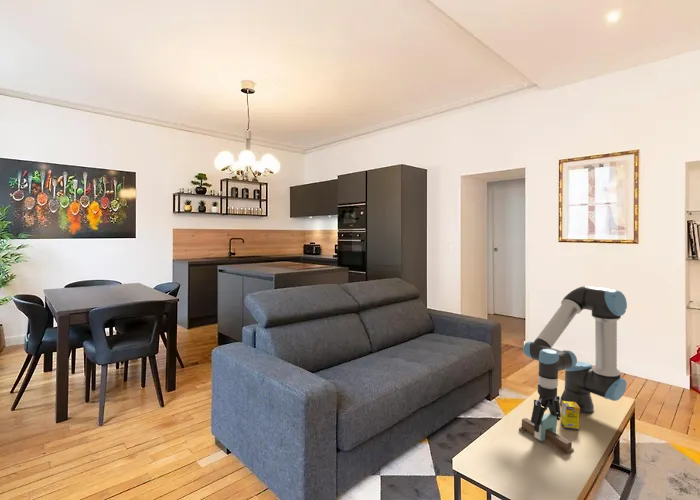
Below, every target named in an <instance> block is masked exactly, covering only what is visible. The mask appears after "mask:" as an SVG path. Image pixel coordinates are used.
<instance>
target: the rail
mask: <svg viewBox="0 0 700 500" xmlns="http://www.w3.org/2000/svg"><path fill="white" fill-rule="evenodd" d="M518 431H520V432H521V433H528V434H530V435H531V436H534V433H535V431H534V423H532V422H531V418H530V419H529V418H528V417H525V418H522V419H521V427H518ZM543 442H544V443H545V444H547V445H549V446H550V447H553V448H554V449H556V450H557V451H556V452H557V454H559V455H561V456H565V455H570V454H571V453H572V452H574V450H575V449H574V448H573V447H572V445H573V443H572V441H570V440H568V439H566V438H565V437H563V436H561V435H560V434H557V432H556V433H554V432H552V431H550V430H548V429H546V432H545V440H544V441H543Z"/></svg>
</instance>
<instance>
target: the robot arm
mask: <svg viewBox="0 0 700 500" xmlns="http://www.w3.org/2000/svg"><path fill="white" fill-rule="evenodd" d="M560 304H561V305H560V306H559V308H558V309H557V311H555V313H554V314H553V315H552V317H551V318H550V320H549V321H548V322H547V324H546V325H545V326H544V327H543V330H542V331H541V332H540V333H539V334H538V336H537V337H536V338H535V340H534V341H527V342H525V343H524V345H523V349H522V351H523V355H525V356H526V357H528V358H530V359H531V360H535V361H537V362H538V375H537V376H538V380H537V383H538V384H537V393H538V395H539V397H538V399H533V408H532V412H531V417H530V420H531V422H532V423H534V431H535V433H534V438H536V439H537V440H539V441H540V440H541V428H542V425H541V424H540V423H541V421H542V418H543V415H545V412H546V411H547V410H548V411H549V413H550V414H552V415H554V416H556V417H557V421H556V427H557V426H558V422H559V421H561V406H562V401H568V402H575V403H576V404H577V405H578V406H579V407H580V414H589V413H593V412H594V410H595V409H594V407H595V406H594V403H593V398H592V396H591V394H593V395H595V396H596V395H597V396H598V397H601V398H604V399H606V400H610V401H613V402H614V401H619V400H620V399H621V398H622V397H623V396H624V394H625V392H626V389H627V381H626V379H625V378H623V377H621V374H622V373H621V371H620V370H619V369H618V367H617V366H618V363H617V361H618V358H617V357H618V352H617V351H618V348H617V347H618V346H617V345H618V339H617V338H618V330H617V329H618V321H619V320H620V319H621V317H622V316H624V315H625V313H626V311H627V308H628V302H627V298H626V296H625V294H624V293H623V292H622V291H620V290H618V289H613V288H607V287H597V286H592V285H583V286H580V287H577V288H575V289H573V290H571V291H570V292H569V293H568V294H566V295H565V296H564V297H563V299H562V300H561V302H560ZM583 310H589V311H591V316H592V317H593V318H594V321H595V323H594V324H595V325H594V326H595V340H594V341H595V348H594V349H595V365H594V366H593V365H592V364H591V363H589V362H585V361H578V358H577V356H576V354H575V353H574V352H573V351H571V350H559V349H557V348H556V349H555V348H553V346H554V345H555V344H556V342H557V341H558V340H559V338H560V337H561V336H562V334H563V333H564V331H565V330H566V329H567V328H568V326H569V325H570V324H571V322H572V321H573V319H574V318H575V317H576V315H579V314H580V313H581V312H582V311H583ZM560 371H564V389H563V392H562V394H561V396H558V387H559V386H558V381H559V380H558V379H559V372H560Z"/></svg>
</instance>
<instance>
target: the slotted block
mask: <svg viewBox="0 0 700 500" xmlns="http://www.w3.org/2000/svg"><path fill="white" fill-rule="evenodd" d="M556 421H557V422H558V420H557V417H556V416H554V415H552V414H550V412H549V413H544V415H543V418H542V421H541V423H540V424H541V425H542V428H541V440H539V441H541V442H544V440H545V432H546V429H548V430H550V431H552V432H554V433H556V434H557V426H556Z"/></svg>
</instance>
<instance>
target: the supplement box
mask: <svg viewBox="0 0 700 500" xmlns="http://www.w3.org/2000/svg"><path fill="white" fill-rule="evenodd" d="M560 412H561V417H560V423H561V425H562V426H563V428H564V429H565V430H571V431H580V414H581V413H580V407H579V406H578V405H577V404H576V403H575V402H568V401H562V405H561V410H560Z"/></svg>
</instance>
